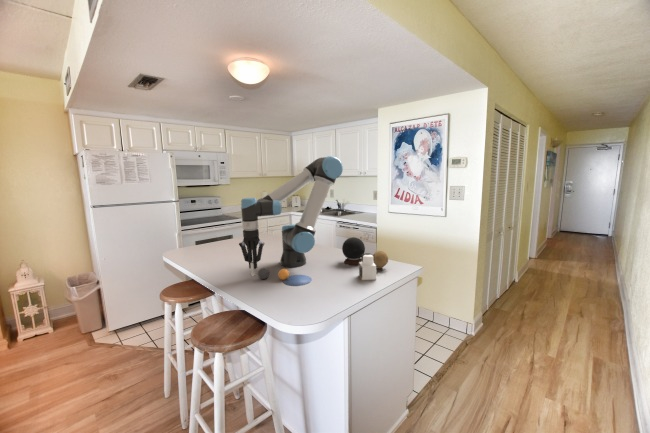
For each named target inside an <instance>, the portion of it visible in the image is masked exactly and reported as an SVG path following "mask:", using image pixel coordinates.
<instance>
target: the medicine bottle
mask: <svg viewBox="0 0 650 433" xmlns="http://www.w3.org/2000/svg"><path fill="white" fill-rule="evenodd" d="M373 254H374V253H373ZM373 254H372V253H369V252H368V253H367V252H364V254H362V255H361V262H359V265H358V270H359V271H358V274H359V275H358V276H359V277H360V279H361V281H374V280H377V267H376V265H375V264H374V255H373Z"/></svg>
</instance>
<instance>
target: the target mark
mask: <svg viewBox="0 0 650 433" xmlns="http://www.w3.org/2000/svg"><path fill="white" fill-rule="evenodd" d="M282 282H283V284H284V285H287V286H291V287H292V286H293V287H294V286H295V287H299V286H304V285H308V284H310V283H311V282H312V277H311V276H309V275H305V274H294V275H289V277H288V278H287V279H286V280H282Z"/></svg>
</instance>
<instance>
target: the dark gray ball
mask: <svg viewBox="0 0 650 433" xmlns="http://www.w3.org/2000/svg"><path fill="white" fill-rule="evenodd" d="M257 275H258V278H259V279H261V280H266V279H267V278H269V277H270V270H268V269H267V268H266V267H263V268H260V269H259V270H258V273H257Z"/></svg>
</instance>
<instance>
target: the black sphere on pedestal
mask: <svg viewBox="0 0 650 433" xmlns="http://www.w3.org/2000/svg"><path fill="white" fill-rule="evenodd" d="M341 247H342V249H341V250H342V254H343V256H344V257H345V260H343V264H344V265H346V266H353V267H356V266H358V267H359V262H361V255H362V254H365V253H366V245H365V243H364V242H363V241H362V240H361V239H360V238H359V237H354V236H353V237H348V238H347V239H346V240H344V242H343V243H342V246H341Z"/></svg>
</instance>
